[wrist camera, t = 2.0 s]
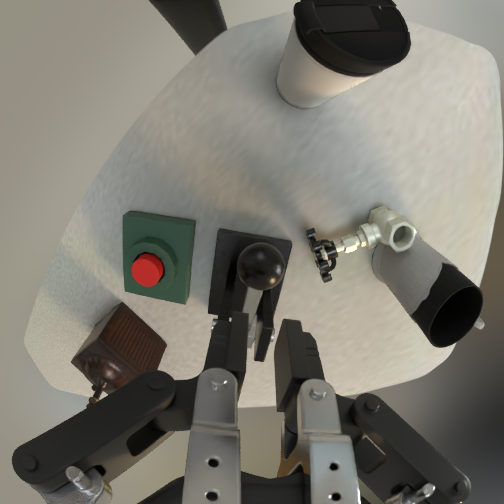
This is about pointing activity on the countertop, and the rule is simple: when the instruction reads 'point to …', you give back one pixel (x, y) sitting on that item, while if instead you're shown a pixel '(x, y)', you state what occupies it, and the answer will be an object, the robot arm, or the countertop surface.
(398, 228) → the valve
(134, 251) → the button block
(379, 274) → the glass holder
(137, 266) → the button
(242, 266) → the lever
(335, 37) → the travel mug
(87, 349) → the brown coffee grinder
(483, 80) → the countertop surface
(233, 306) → the bracket
